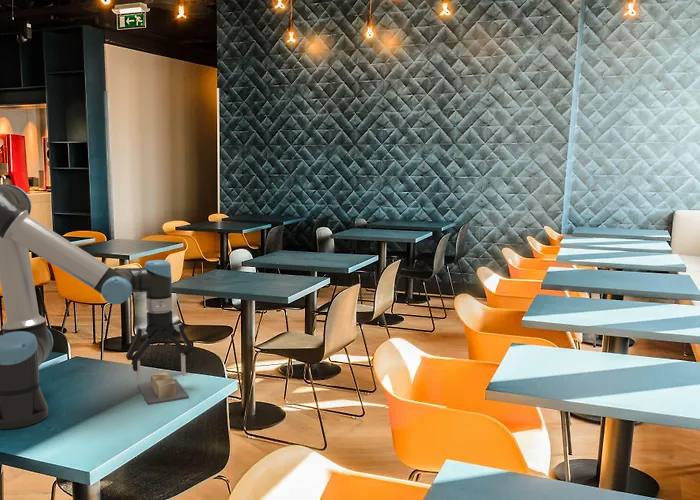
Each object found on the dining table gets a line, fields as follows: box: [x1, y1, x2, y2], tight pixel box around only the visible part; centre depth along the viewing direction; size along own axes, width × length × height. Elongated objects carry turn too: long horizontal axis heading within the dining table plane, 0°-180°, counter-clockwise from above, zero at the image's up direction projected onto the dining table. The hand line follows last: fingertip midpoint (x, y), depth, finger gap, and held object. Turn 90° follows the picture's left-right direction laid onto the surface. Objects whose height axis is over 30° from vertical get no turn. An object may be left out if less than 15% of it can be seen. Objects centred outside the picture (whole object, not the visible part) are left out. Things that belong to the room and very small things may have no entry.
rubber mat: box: [137, 378, 190, 406], centre depth 198 cm, size 12×18×1 cm, turn 28°
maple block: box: [150, 371, 176, 399], centre depth 197 cm, size 5×4×12 cm
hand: (161, 377), depth 198 cm, fingers open, 13 cm apart
